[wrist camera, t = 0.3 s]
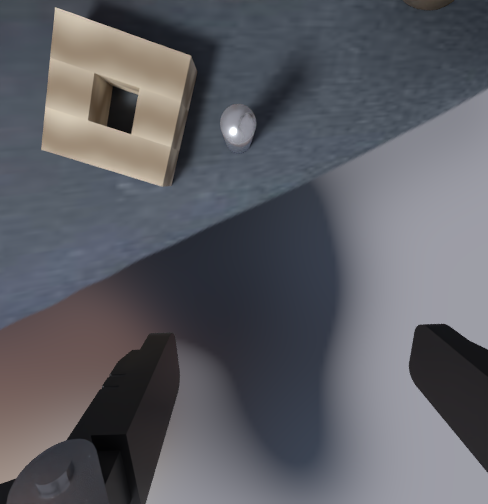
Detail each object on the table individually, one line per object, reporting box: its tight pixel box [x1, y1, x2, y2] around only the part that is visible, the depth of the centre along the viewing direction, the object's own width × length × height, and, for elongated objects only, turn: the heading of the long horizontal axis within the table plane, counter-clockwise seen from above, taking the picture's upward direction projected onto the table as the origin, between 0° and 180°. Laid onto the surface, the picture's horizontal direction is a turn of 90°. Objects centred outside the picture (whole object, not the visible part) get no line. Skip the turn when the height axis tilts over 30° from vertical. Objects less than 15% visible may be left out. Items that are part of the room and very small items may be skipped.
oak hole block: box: [41, 7, 197, 187], centre depth 29 cm, size 13×13×4 cm
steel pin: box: [220, 104, 256, 154], centre depth 27 cm, size 3×3×10 cm
